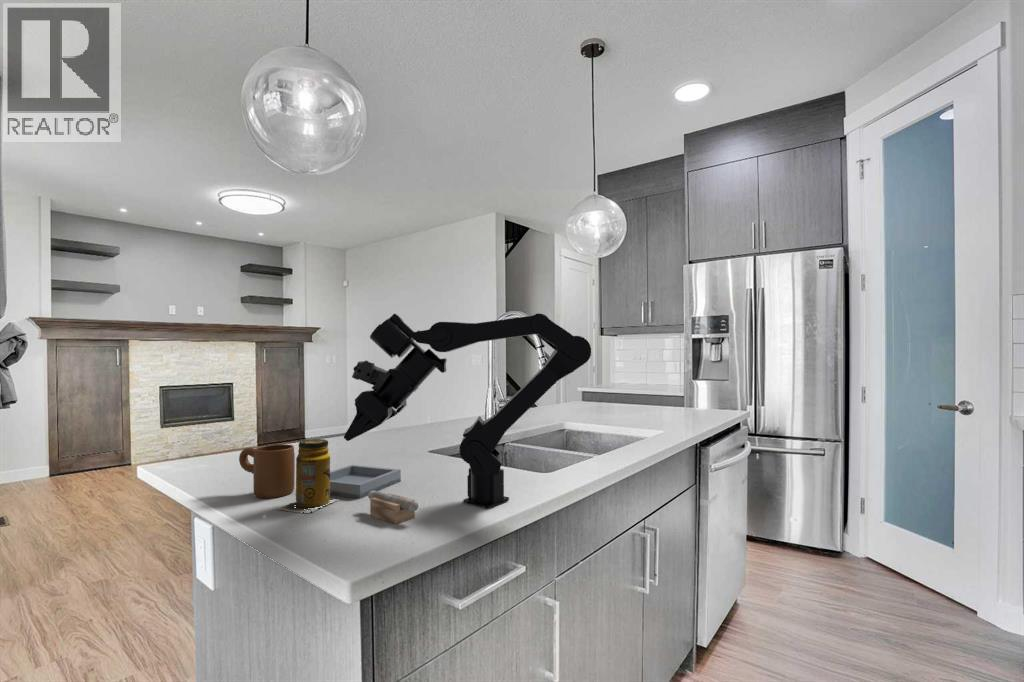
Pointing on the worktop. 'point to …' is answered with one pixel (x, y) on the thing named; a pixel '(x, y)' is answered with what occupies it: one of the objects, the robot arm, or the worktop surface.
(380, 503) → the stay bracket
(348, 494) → the grey shallow square tray
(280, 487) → the mug
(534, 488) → the worktop surface
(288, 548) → the worktop surface
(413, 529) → the worktop surface
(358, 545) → the worktop surface
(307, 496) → the condiment
